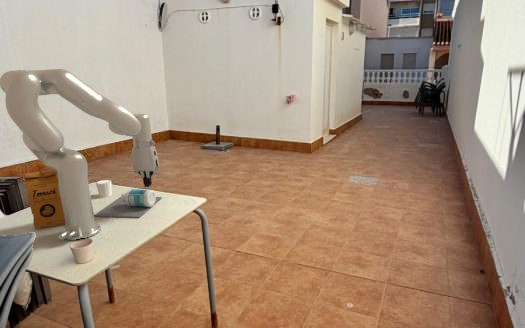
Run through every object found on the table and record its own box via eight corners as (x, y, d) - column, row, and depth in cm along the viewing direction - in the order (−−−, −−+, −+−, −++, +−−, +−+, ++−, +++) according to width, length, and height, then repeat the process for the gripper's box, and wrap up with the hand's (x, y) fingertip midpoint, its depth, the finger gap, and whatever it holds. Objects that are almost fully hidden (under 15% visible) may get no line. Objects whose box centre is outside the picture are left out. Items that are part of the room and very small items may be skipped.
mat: (139, 218, 139) (139, 216, 139) (94, 216, 141) (93, 215, 141) (161, 198, 160) (161, 197, 160) (121, 197, 162) (121, 196, 162)
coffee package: (68, 226, 133) (58, 172, 127) (31, 232, 129) (18, 176, 123) (72, 216, 142) (62, 165, 136) (37, 221, 138) (25, 169, 132)
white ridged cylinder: (102, 198, 161) (100, 184, 159) (95, 196, 165) (92, 182, 163) (116, 194, 166) (114, 180, 164) (108, 191, 170) (106, 178, 168)
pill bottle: (158, 194, 153) (131, 192, 155) (151, 187, 146) (122, 185, 149) (153, 210, 149) (125, 208, 152) (145, 203, 143) (117, 201, 145)
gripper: (163, 142, 144) (168, 183, 149) (130, 142, 146) (136, 182, 151) (156, 146, 137) (160, 189, 142) (121, 145, 139) (127, 188, 144)
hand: (148, 185), depth 147 cm, fingers closed
